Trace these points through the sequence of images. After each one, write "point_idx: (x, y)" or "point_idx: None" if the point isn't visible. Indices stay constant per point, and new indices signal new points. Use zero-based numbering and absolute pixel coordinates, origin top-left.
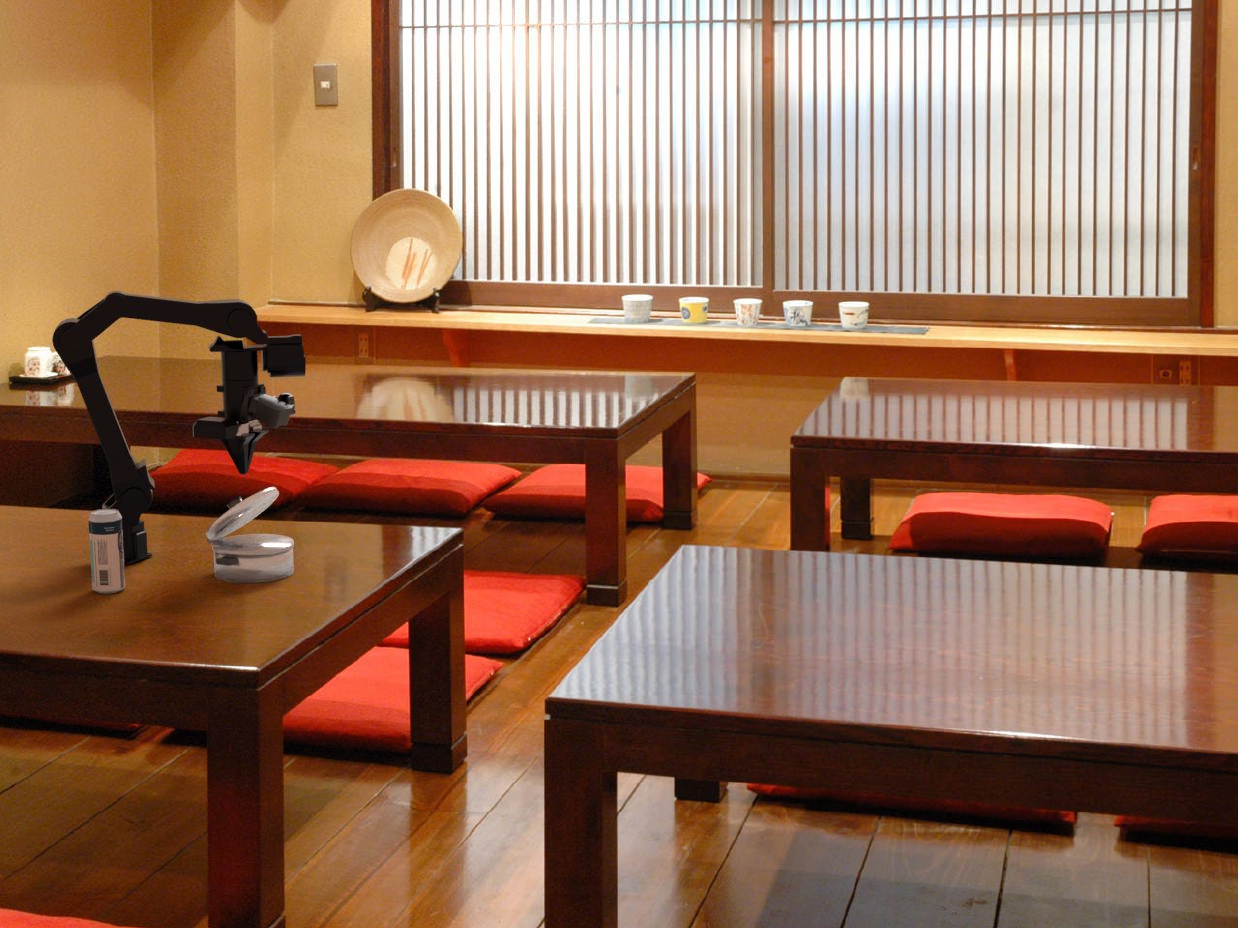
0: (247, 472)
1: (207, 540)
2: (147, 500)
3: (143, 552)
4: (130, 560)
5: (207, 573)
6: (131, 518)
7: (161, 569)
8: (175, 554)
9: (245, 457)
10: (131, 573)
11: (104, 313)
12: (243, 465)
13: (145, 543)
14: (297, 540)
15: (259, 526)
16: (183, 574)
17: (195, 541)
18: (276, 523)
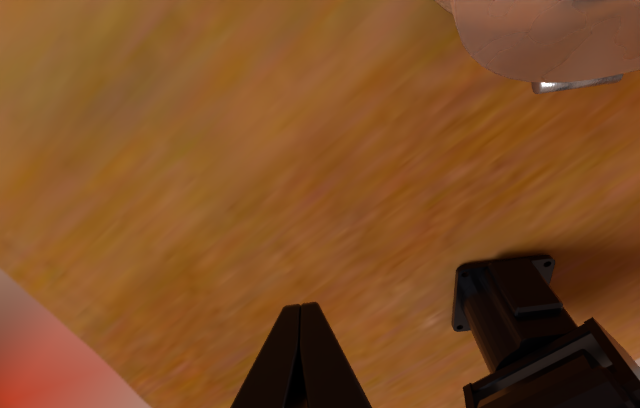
0: (292, 306)
1: (615, 81)
2: (614, 377)
3: (511, 267)
4: (537, 263)
5: None
6: (614, 343)
7: (563, 173)
8: (415, 243)
9: (350, 403)
10: (616, 202)
11: None
12: (341, 350)
13: (511, 283)
14: (88, 85)
15: (79, 275)
16: (606, 87)
17: (291, 286)
18: (21, 265)
